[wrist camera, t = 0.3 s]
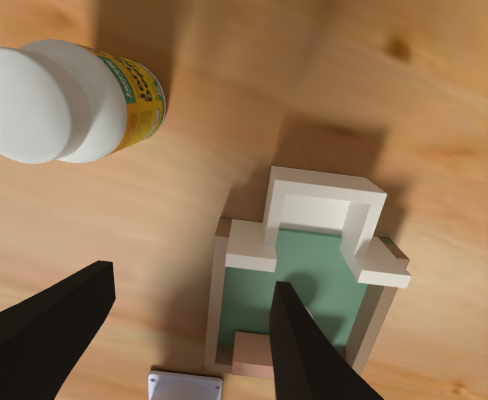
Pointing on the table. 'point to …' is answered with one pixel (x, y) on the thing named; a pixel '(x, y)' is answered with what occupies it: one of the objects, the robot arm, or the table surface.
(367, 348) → the pitch
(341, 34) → the table surface
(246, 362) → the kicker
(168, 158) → the table surface
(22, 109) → the supplement bottle
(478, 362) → the table surface
